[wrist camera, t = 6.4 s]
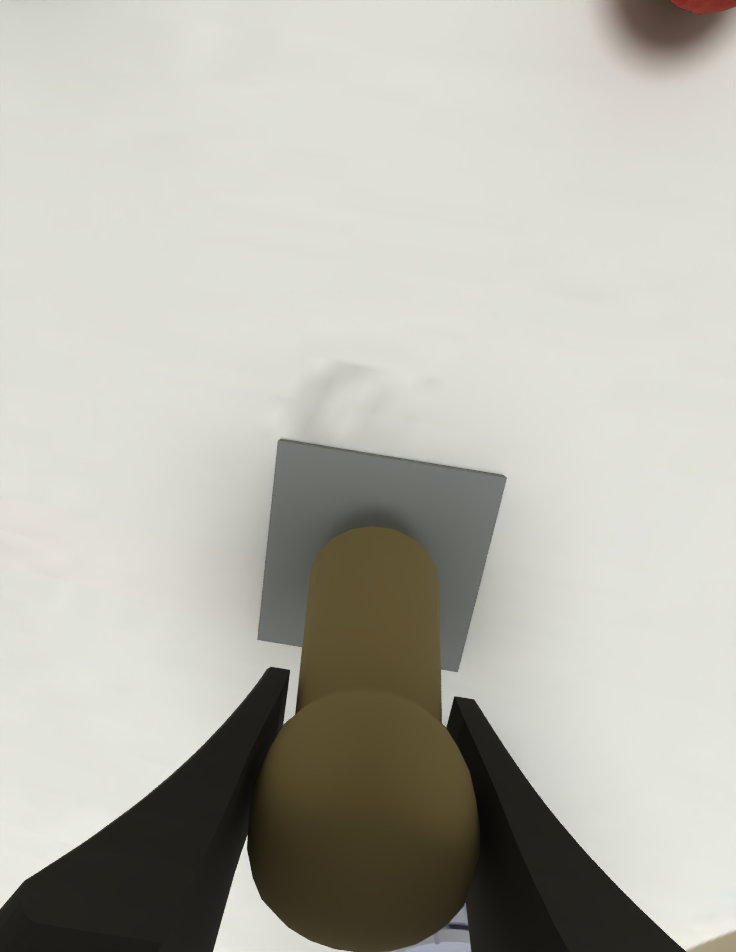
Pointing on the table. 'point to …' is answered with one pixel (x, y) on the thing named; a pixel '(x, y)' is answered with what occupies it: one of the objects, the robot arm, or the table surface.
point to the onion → (705, 5)
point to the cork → (366, 761)
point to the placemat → (381, 505)
